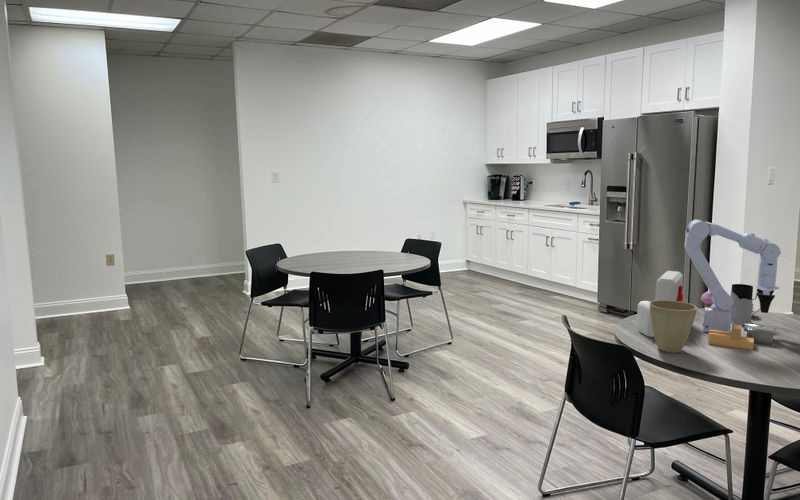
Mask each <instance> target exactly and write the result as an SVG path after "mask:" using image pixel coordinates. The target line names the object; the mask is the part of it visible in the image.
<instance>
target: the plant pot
mask: <svg viewBox="0 0 800 500" xmlns="http://www.w3.org/2000/svg"><path fill="white" fill-rule="evenodd" d="M649 302H650V314H651V322H652V327H653V332H654V336H655V337H654V340H655V343H656V346H657V348H658V350H659V349H660V350H659V351H661V350H662V352H664V351H665V352H664V353H670V352H671V353H672V354H678V353H680V352H682V350H683V349H684V346H685V344H686V343H687V341H688V338H689V336H690V333H691V331H692V327H693V325H694V321H695V317H696V314H697V309H698V307H697V306H696V305H694V304H692V303H689V302H684V301H683V302H679V301H670V300H656V301H655V300H652V301H649ZM677 352H678V353H677ZM671 353H670V354H671Z"/></svg>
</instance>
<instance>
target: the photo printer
mask: <svg viewBox="0 0 800 500" xmlns="http://www.w3.org/2000/svg"><path fill="white" fill-rule="evenodd" d="M650 302H651V301H650V300H641V301H639V303H637V314H636V315H637V319H636V330H637V331H638V332H639V333H641V334H643V335H645V336H646V337H649V338H655V336H654V332H653V327H652V322H651V314H650Z"/></svg>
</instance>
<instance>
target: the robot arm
mask: <svg viewBox="0 0 800 500" xmlns="http://www.w3.org/2000/svg"><path fill="white" fill-rule="evenodd" d="M708 236H709V237H714V236H719V237H722V238H725V239H728V240H730V241H733V242H736V243H738V246H739V247H740V248H742V249H744V250H746V251H749V252H751V253H754V254H759V255H760V256H759V262H758V273H757V282H756V283H757V284H756V293H757V292H758V293H757V298H758V300H759V309H760V310H759V311H760V313H763V314H768V313H769V310H770V307H771V305H772V301H773V300H775V299H774V298H775V297H776V294H773V293H774V292H775V290H779V289H780V287H779V286H776V282H777V271H778V258H779V257H780V256H781V253H782V251H781V248H780V247H779V245H778V244H776V243H774V242H772V241H769V239H767V238H764V239H763V238H762V237H761V238H760V237H759V236H756V234H755V233H752V232H750V233H748V232H746V233H743V234H740V233H738V232H735V231H733V230H732V229H728V228H726V227H724V226H721V225H719V224H716V223H713V222H709V221H703V220H702V219H692V220H691V221H690V222H689V223H688V224H687V226H686V229H685V236H684V237H685V239H684V250H685V251H686V252H687V255H688V257H689V258H690V259H691V262H692V263H693V264H694V267H695V269H696V270H697V272H698V273H699V275H700V278H701V279H702V280H703V282H704V284H705V286H706V288H707V289H708V291H709V292H710V294H711V300H712V302H713V304H712V305H711V307H710V308H707V307H705V312H704V311H703V322H702V327H703V328H702V332H703V333H709V330H718V331H727V332H731V329H732V323H731V317H732V308H731V307H732V306H733V304H734V300H733V298H732V297H731V296H730V295H731V294H729V293H728V292H727V291H726V290H725V288H724V287H723V285H722V284H721V282H720V281H719V279H718V277H717V275H716V274H715V272H714V270H713V268H712V267H711V265H710V263H709V262H708V260H707V259H706V257H705V255H704V253H703V251H702V250H701V246H702V243H703V241H704V239H706V238H707V237H708Z"/></svg>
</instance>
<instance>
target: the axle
mask: <svg viewBox="0 0 800 500" xmlns="http://www.w3.org/2000/svg"><path fill="white" fill-rule="evenodd" d="M754 324H755V323H752V324H746V323H744V325H743V332H744V333H745V332H746V333H747V328H752V329H761V330H770V331H773V332H774V333H773V337H774V336H776V335H777V327H776V326H773V327H769V326H770V325H767V326H762V325H763V324H758V325H754Z"/></svg>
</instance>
